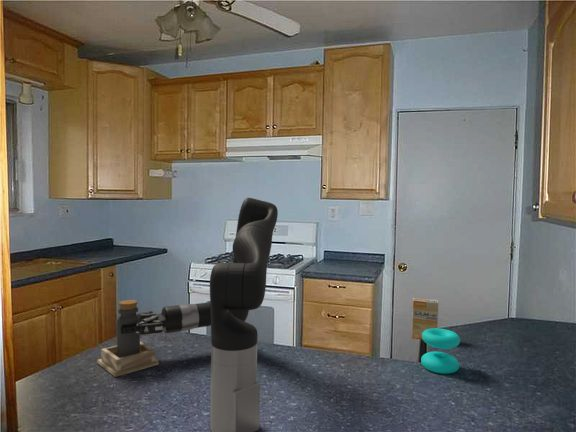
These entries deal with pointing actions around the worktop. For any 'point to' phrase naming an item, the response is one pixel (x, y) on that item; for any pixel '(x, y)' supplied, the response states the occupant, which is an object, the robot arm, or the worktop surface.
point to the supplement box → (423, 316)
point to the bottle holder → (127, 360)
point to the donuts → (440, 360)
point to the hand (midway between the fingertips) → (118, 326)
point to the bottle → (128, 341)
